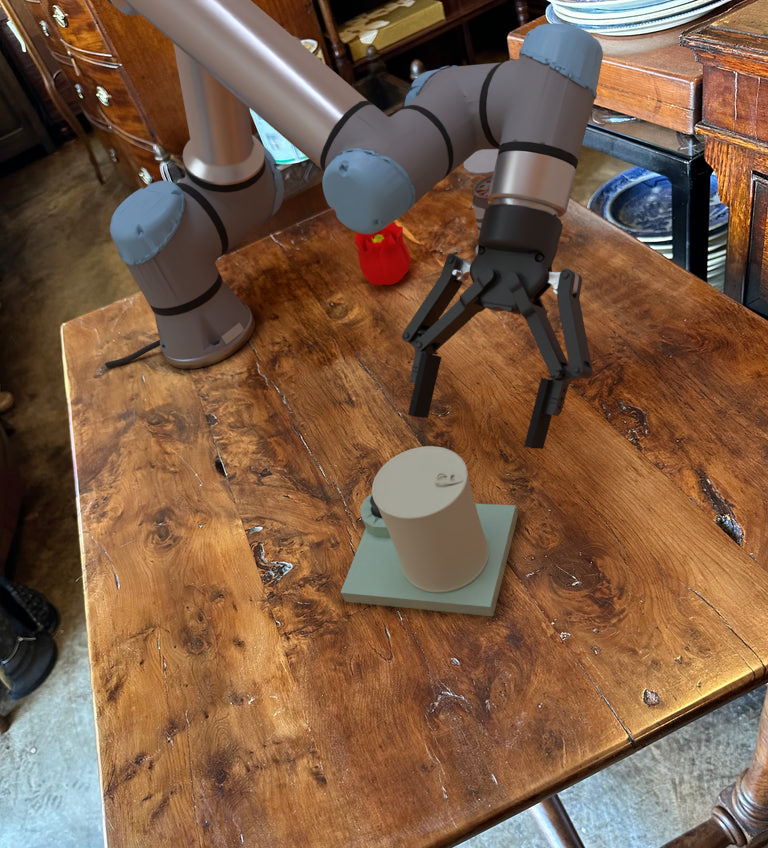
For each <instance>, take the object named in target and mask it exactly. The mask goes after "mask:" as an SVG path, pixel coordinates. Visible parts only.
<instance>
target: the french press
mask: <svg viewBox="0 0 768 848" xmlns="http://www.w3.org/2000/svg"><path fill="white" fill-rule="evenodd" d="M498 152H499V149H487V150H479V151H477V152H475V153H474V154H473V155H471V156H470V157H469V158H468V159H467V160H466V161H464V162H463V169H465V171H466V172H468V173H469V174H471V175H476V176H485V177H483V178H481V179H480V180H478V181H477V182H475V184H474V186H473V187H472V189H471V191H472V194H473V197H472V207H473V213H474V217H475V223H476V227H477V232H478V235H479V234H480V230H481V225H482V221H483V217H484V212H485V209H487V208H488V207H489V206H491V205H493V204H492V203H491V202H490V203H489V199H488V194H489V190H490V185H491V181H492V177H493V173H494V168H495V164H496V160H497V156H498ZM477 253H478V244H477V245H476V247H475V257H476V256H477Z"/></svg>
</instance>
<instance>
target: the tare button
mask: <svg viewBox="0 0 768 848" xmlns="http://www.w3.org/2000/svg"><path fill="white" fill-rule="evenodd" d="M370 503H371V506H372V508H373V510H374V513H375V515H376V516H378V517H379V518H382V516H381V514H380V511H379V509H378V507H377V505H376V504H375V502H374V499H373V496H371V498H370Z"/></svg>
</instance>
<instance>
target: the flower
mask: <svg viewBox="0 0 768 848" xmlns="http://www.w3.org/2000/svg"><path fill="white" fill-rule="evenodd" d="M403 233H404V227H403V226H400V225H398V224H397V223H396V222H395V221H394V222H392V223H391V224H389V225H388V226H387V227H385V228H384V229H382V230H381V231H379V232H377V233H373V234H362V233H358V232H356V234H355V235H354V241H353V243H354V244H355V245H356V248H355V249H356V251H357V254H358V263H359V268H360V269H361V273H362V274H363V276H364V277H365V279H366V281H368V282H369V283H370V284H371V285H373V286H392V285H395V284H397V283H398V282H400V281H401V280H402V279H403V278H404V276H405V275H406V274H407V273H408V271H409V269H410V266H411V261H412V259H411V254H410V252H409V249H408V247H407V245H406V243H405V241H404V237H403Z"/></svg>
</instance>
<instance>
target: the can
mask: <svg viewBox="0 0 768 848" xmlns="http://www.w3.org/2000/svg"><path fill="white" fill-rule="evenodd" d="M371 493H372V496H373V499H374V502H375V504H376V505H377V507H378V509H379V511H380V514H381V516H382V518H383V521H384V523H385V525H386V528H387V530H388V532H389V535H390V537H391V540H392V542H393V545H394V547H395V549H396V552H397V555H398V557H399V560H400V562H401V568H402V571H403V574H404V576H405V577H406V579H407V580H408V581H409V582H410V583H411V584H412V585H414V586H415V587H417V588H418V589H421V590H424V591H427V592H433V593H444V592H450V591H454V590H457V589H460V588H462V587H464V586H466V585H468V584H469V583H471V582H472V581H473V580H475V579H476V578H477V577H478V576H479V575H480V574H481V572H482V571H483V570H484V568H485V566H486V564H487V561H488V558H489V545H488V542H487V539H486V537H485V536H484V533H483V530H482V526H481V523H480V519H479V516H478V512H477V508H476V505H475V504H476V501H475V497H474V493H473V490H472V486H471V482H470V479H469V472H468V467H467V465H466V463H465V460H464V459H463V458H462V456H460V455H459V454H458V453H456V452H455V451H453V450H450V449H448V448H446V447H441V446H435V445H434V446H433V445H427V446H418V447H414V448H413V447H412V448H410V449H407V450H404V451H403V452H400V453H398V454H396V455H395V456H393V457H392V458H390V459H389V460H388V461H387V462H385V463H384V464H383V465H382V466H381V468H379V470H378V471H377V473H376V474H375V477H374V479H373V482H372V486H371Z"/></svg>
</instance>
